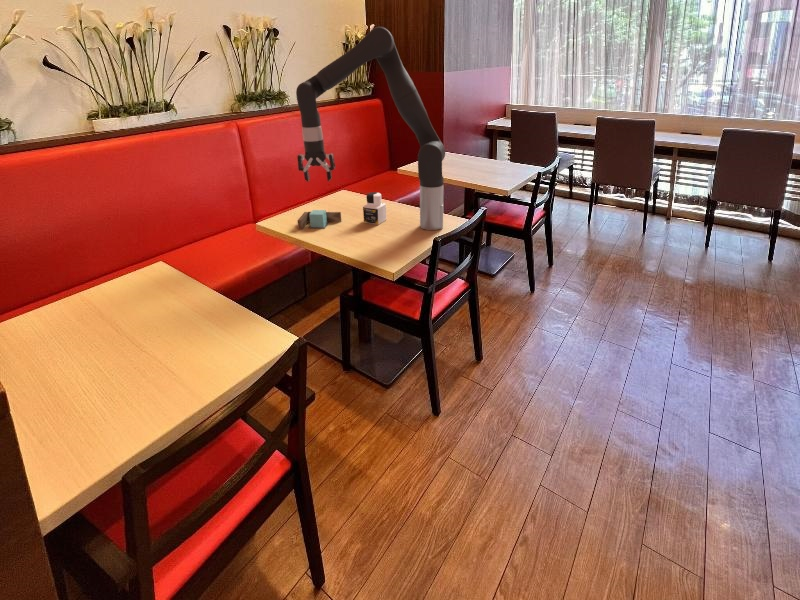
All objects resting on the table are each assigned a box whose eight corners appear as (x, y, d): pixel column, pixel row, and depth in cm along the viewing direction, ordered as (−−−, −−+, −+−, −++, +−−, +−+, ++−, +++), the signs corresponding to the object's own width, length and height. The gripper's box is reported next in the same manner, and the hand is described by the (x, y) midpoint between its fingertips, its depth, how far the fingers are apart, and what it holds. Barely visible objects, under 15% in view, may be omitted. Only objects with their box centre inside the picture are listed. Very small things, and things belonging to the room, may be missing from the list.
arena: (341, 221, 206) (340, 211, 204) (335, 230, 196) (334, 220, 194) (306, 220, 207) (304, 211, 205) (298, 229, 198) (297, 220, 196)
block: (327, 222, 204) (325, 210, 201) (323, 227, 199) (322, 214, 196) (314, 222, 204) (312, 210, 202) (310, 227, 199) (309, 214, 197)
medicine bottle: (363, 222, 203) (361, 194, 197) (372, 217, 208) (370, 190, 203) (378, 225, 200) (376, 196, 194) (386, 219, 205) (385, 192, 200)
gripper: (333, 136, 188) (338, 178, 195) (297, 137, 189) (303, 178, 197) (329, 140, 181) (333, 183, 189) (292, 141, 183) (298, 183, 190)
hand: (318, 180), depth 193 cm, fingers open, 8 cm apart
